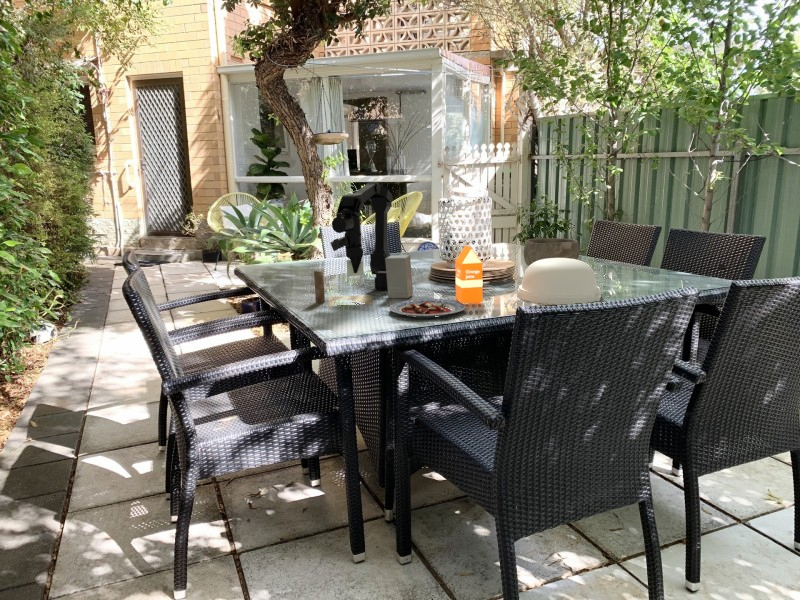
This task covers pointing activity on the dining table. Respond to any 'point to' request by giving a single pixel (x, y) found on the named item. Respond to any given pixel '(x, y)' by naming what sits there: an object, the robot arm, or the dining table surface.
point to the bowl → (550, 249)
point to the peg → (319, 287)
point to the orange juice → (468, 277)
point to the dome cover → (559, 282)
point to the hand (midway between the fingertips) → (355, 271)
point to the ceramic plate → (427, 307)
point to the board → (362, 299)
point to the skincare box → (399, 276)
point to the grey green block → (350, 269)
